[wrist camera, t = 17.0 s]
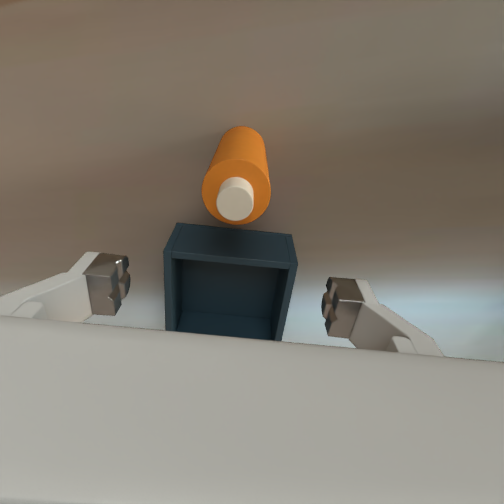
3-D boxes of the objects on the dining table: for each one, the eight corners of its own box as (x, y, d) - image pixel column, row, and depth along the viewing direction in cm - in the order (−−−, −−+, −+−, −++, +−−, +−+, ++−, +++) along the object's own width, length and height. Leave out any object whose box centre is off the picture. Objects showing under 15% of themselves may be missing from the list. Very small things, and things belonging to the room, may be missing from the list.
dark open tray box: (291, 234, 39) (298, 263, 33) (274, 320, 45) (277, 357, 40) (176, 222, 38) (163, 250, 32) (177, 311, 45) (165, 348, 39)
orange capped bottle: (267, 129, 33) (277, 171, 20) (261, 175, 35) (266, 240, 22) (220, 123, 32) (198, 162, 19) (217, 170, 35) (196, 233, 22)
